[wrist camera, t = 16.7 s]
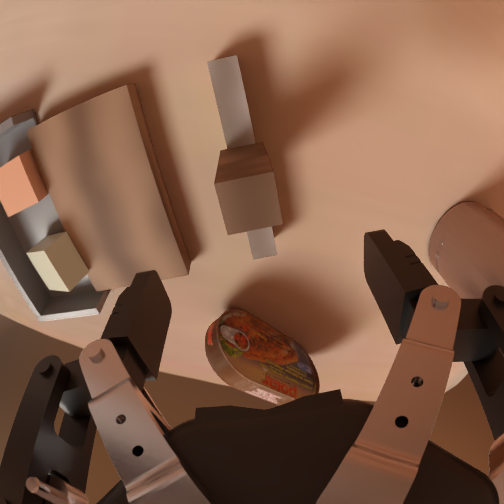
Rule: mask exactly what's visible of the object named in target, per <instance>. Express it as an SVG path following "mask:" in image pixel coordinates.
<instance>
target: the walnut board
mask: <svg viewBox="0 0 504 504" xmlns="http://www.w3.org/2000/svg"><path fill="white" fill-rule="evenodd" d="M27 134H28V137H29V140H30V143H31V146H32V149H33V152H34V155H35V158H36V161H37V164H38V166H39V169H40V172H41V174H42V177H43V180H44V182H45V185H46V187H47V190H48V192H49V195H50V197H51V200H52V202H53V204H54V207H55V209H56V211H57V214H58V216H59V218H60V220H61V223H62V225H63V227H64V229H65V231H66V232H67V233H68V235H69V237H70V239H71V241H72V243H73V244H74V246H75V248H76V250H77V251H78V253H79V255H80V257H81V258H82V260H83V262H84V263H85V265H86V267H87V268H88V270H89V273H88V274H87V275H88V277H89V279H90V281H91V282H92V284H93V286H94V288H95V290H96V291H103V290H109V289H114V288H120V287H125V286H131V283H132V281H133V279H134V277H135V275H136V273H139V272H144V271H150V270H156V271H157V273H158V275H159V277H160V279H161V280H164V279H170V278H175V277H181V276H186V275H189V270H190V264H191V261H190V259H189V256H188V253H187V250H186V247H185V245H184V242H183V239H182V236H181V233H180V230H179V227H178V224H177V222H176V219H175V216H174V213H173V210H172V207H171V204H170V201H169V198H168V195H167V191H166V188H165V185H164V182H163V179H162V176H161V173H160V169H159V166H158V163H157V160H156V156H155V153H154V150H153V146H152V143H151V140H150V136H149V133H148V129H147V126H146V123H145V119H144V115H143V112H142V108H141V105H140V101H139V97H138V94H137V90H136V86H135V84H128V85H124V86H122V87H119V88H116V89H114V90H111V91H109V92H106V93H104V94H101V95H99V96H97V97H94V98H92V99H90V100H87V101H85V102H83V103H81V104H78V105H76V106H74V107H72V108H70V109H68V110H65V111H63V112H61V113H59V114H57V115H55V116H53V117H51V118H49V119H47V120H46V121H44V122H42V123H40V124H38V125H36V126H34V127H33V128H31V129H29V130H27Z"/></svg>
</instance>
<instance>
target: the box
mask: <svg viewBox="0 0 504 504" xmlns="http://www.w3.org/2000/svg"><path fill="white" fill-rule="evenodd" d="M36 125H38V122H37V119H36V116H35V112H34V109H33V110H30V111H27V112H24V113H21V114H18V115H15V116H12V117H10V118H9V119H7V120H6V121H4V122H3V123H1V124H0V167H2V166H3V165H5V164H6V163H8V162H9V161H11V160H12V159H14V158H15V157H17V156H19V155H20V154H22V153H24V152H26V151H28V150H30V149H32V146H31V143H30V140H29V137H28V134H27V130H29V129H31V128H33V127H34V126H36ZM62 232H66V231H65V229H64V227H63V225H62V223H61V220H60V218H59V216H58V214H57V211H56V209H55V207H54V204H53V202H52V200H51V197H50V195H49V194H48V195H47V196H45V197H44V198H43V199H42V200H41V201H39V202H38V203H36V204H34V205H32V206H30V207H28V208H26V209H24V210H22V211H20V212H18V213H16V214H14V215H12V216H10V217H8V215H7V213H6V211H5V209H4V207H3V205H2V203H1V201H0V259H1V260H2V262H3V264H4V266H5V268H6V269H7V271H8V273H9V275H10V276H11V278H12V280H13V281H14V283H15V285H16V286H17V288H18V289H19V291H20V293H21V294H22V296H23V297H24V299H25V300H26V302H27V304H28V305H29V307H30V308H31V310H32V311H33V313H34V314H35V315H36V317H37V318H38V320H39V321H40V322H41V321H50V320H58V319H66V318H74V317H82V316H89V315H97V314H100V312H101V310H102V308H103V305H104V303H105V301H106V299H107V296H108V294H109V290H103V291H96V290H95V288H94V286H93V284H92V282H91V281H90V279H89V277H88V275H86V276H85V277H84V278H83V279H82V280H81V281H80V282H79V283H78V284H77V285H76V286H75V287H74V288H73V289H72V290H71V291H70V292H67V291H57V290H49V288H48V287H47V285H46V284H45V282H44V281H43V279H42V278H41V276H40V275H39V273H38V271H37V270H36V268H35V267H34V265H33V263H32V262H31V260H30V258H29V257H28V255H27V252H28V251H29V250H30V249H32V248H33V247H34V246H35V245H36V244H37V243H39V242H40V241H41V240H42V239H43V238H44V237H46V236H48V235H53V234H57V233H62Z"/></svg>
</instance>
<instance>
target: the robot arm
mask: <svg viewBox="0 0 504 504" xmlns="http://www.w3.org/2000/svg"><path fill="white" fill-rule="evenodd" d="M429 258H430V261H431V263H432V265H433V266H434V268H435V269H436V270H437V271H438V273H439V274H440V275H441V277H442V278H443V279H444V280H445V282H446V283H447V284H448V286H449V287H450V288H449V287H447V286H443V285H438V284H437V282H436V281H435V279H434V278H433V277H432V275H431V274H430V273H429V271H428V270H427V269H426V267H425V266H424V265H423V263H421V261H420V259H419V258H418V257H417V256H416V254H415V253H414V252H413V250H412V249H411V248H410V246H408V245H406V244H405V243H403V242H401V241H400V240H396V241H393V240H392V239H391V237H390V236H389V235H388V233H387V232H386V231H385V230H378V231H372V232H367V233H365V235H364V273H365V278H366V281H367V283H368V285H369V288H370V290H371V292H372V294H373V296H374V298H375V300H376V302H377V304H378V306H379V308H380V310H381V312H382V315H383V317H384V319H385V321H386V323H387V325H388V328H389V330H390V332H391V334H392V336H393V339H394V341H395V343H396V344H400V343H401V345H400V348H399V350H398V353H397V355H396V358H395V360H394V363H393V365H392V367H391V370H390V372H389V374H388V377H387V379H386V381H385V383H384V386H383V388H382V390H381V392H380V394H379V396H378V399H377V401H376V403H375V405H373V404H370V403H366V402H363V401H359V400H352V399H342V395H341V391H340V389H339V390H334V391H329V392H324V393H318V394H313V395H307V396H303V397H301V398H298V399H295V400H293V401H290V402H288V403H285V404H282V405H280V406H277V407H274V408H271V409H267V410H262V409H252V408H245V407H237V406H219V407H204V408H196V413H195V418H193V419H191V420H188V421H186V422H183V423H181V424H179V425H177V426H176V427H174V428H173V429H172V428H171V427H170V426H169V424H168V423H167V422H166V420H165V419H164V417H163V415H162V414H161V412H160V411H159V410H158V408H157V406H156V405H155V403H154V402H153V400H152V399H151V397H150V395H149V394H148V392H147V391H146V389H145V388H144V383H145V380H157V376H158V371H159V366H160V362H161V357H162V353H163V348H164V344H165V340H166V335H167V331H168V327H169V323H170V319H171V314H172V308H171V303H170V300H169V297H168V295H167V293H166V291H165V288H164V286H163V284H162V282H161V279H160V277H159V275H158V273H157V271H156V270H150V271H144V272H139V273H136V275H135V277H134V279H133V281H132V283H131V286H130V287H127V288H126V289H125V290H124V291H123V292H122V293H121V294H120V296H119V297H118V300H117V302H116V304H115V307H114V308H113V311H112V315H110V318H109V320H108V322H107V325H106V327H105V329H104V332H103V334H102V336H101V339H99V340H96V341H93V342H91V343H90V344H88V345H87V346H86V347H85V348H84V349H83V351H82V352H81V354H80V358H79V359H78V360H75V361H72V362H69V363H66V364H64V363H63V362H62V361H61V359H60V358H59V357H57V356H55V355H52V356H48V357H45V358H44V359H42V360H41V361H40V362H39V363H38V364H37V365H36V367H35V369H34V371H33V374H32V376H31V378H30V381H29V383H28V386H27V388H26V390H25V393H24V396H23V399H22V401H21V404H20V406H19V409H18V412H17V415H16V417H15V420H14V423H13V426H12V429H11V432H10V435H9V439H8V442H7V445H6V448H5V452H4V455H3V459H2V462H1V466H0V504H89V502H88V499H87V497H86V495H85V490H86V483H87V476H88V470H89V465H90V459H91V454H92V448H93V443H94V438H95V433H96V429H98V431H99V434H100V436H101V438H102V440H103V443H104V445H105V447H106V449H107V451H108V454H109V456H110V458H111V460H112V462H113V464H114V466H115V468H116V470H117V472H118V474H119V476H120V478H121V480H120V481H119V482H118V483H117V484H116V485H115V486H114V487H113V488H112V489H111V490H110V491H109V492H108V493H107V494H106V495H105V496H104V497H103V498H102V499H101V500H100V501H99V502H98V503H97V504H504V219H503V218H502V217H501V216H499V215H498V214H497V213H495V212H494V211H493V210H492V209H488V210H487V209H486V208H484V207H483V206H482V205H480V204H478V203H476V202H471V201H468V202H463V203H460V204H458V205H456V206H454V207H453V208H451V209H450V210H449V211H448V212H447V213H446V214H445V215H444V216H443V217H442V218H441V220H440V221H439V222H438V224H437V225H436V227H435V229H434V231H433V233H432V236H431V239H430V243H429ZM452 362H464V364H465V366H466V368H467V371H468V373H469V375H470V377H471V380H472V382H473V384H474V387H475V389H476V391H477V394H478V396H479V399H480V401H481V404H482V406H483V409H484V412H485V414H486V417H487V420H488V422H489V425H490V428H491V431H492V434H493V437H494V440H495V442H494V443H493V444H492V446H491V449H490V452H489V468H490V470H489V475H488V476H487V475H486V474H484V473H483V472H481V471H480V470H478V469H476V468H474V467H472V466H471V465H469V464H468V463H466V462H464V461H463V460H461V459H459V458H458V457H456V456H454V455H453V454H451V453H449V452H448V451H446V450H444V449H443V448H441V447H440V446H438V445H436V444H435V443H433V442H432V441H430V440H429V438H430V435H431V432H432V430H433V427H434V424H435V421H436V418H437V415H438V412H439V409H440V405H441V402H442V399H443V396H444V392H445V389H446V385H447V381H448V378H449V374H450V370H451V366H452ZM59 407H61V408H62V409H63V410H64V411H65V414H64V417H63V421H62V424H61V428H60V432H59V436H58V435H57V434H56V432H55V429H54V421H55V418H56V414H57V411H58V408H59Z"/></svg>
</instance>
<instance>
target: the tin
mask: <svg viewBox="0 0 504 504" xmlns="http://www.w3.org/2000/svg"><path fill="white" fill-rule="evenodd" d="M205 350H206V355H207V358H208V361H209V363H210V365H211V367H212V368H213V370H214V371H215V372H216V374H217V375H218V376H219V377H220V378H221V379H222V380H223V381H224V382H225V383H227V384H228V385H230V386H232V387H234V388H236V389H238V390H241V391H243V392H245V393H248V394H250V395H253V396H255V397H258V398H260V399H263V400H265V401H268V402H271V403H273V404H276V405H278V406H280V405H282V404H285V403H288V402H290V401H293V400H295V399H298V398H301V397H303V396H307V395H313V394H318V393H319V377H318V373H317V371H316V368H315V366H314V364H313V362H312V360H311V358H310V357H309V355H308V354H307V352H306V351H305V350H304V349H303V348H302V347H301V346H300V345H299V344H298V343H297V342H296V341H294V340H292V339H291V338H289V337H287V336H286V335H284V334H282V333H281V332H279V331H277V330H275V329H274V328H272V327H270V326H269V325H267V324H266V323H264V322H262V321H261V320H259V319H257V318H256V317H254V316H253V315H251V314H249V313H247V312H245V311H242V310H238V309H231V310H228V311H226V312H224V313H223V314H222V315H221V316H220V317H219V318H218V319H217V320H216V321H214V322H213V323H212V324H211V325H210V326H209V328H208V330H207V332H206V336H205Z"/></svg>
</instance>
